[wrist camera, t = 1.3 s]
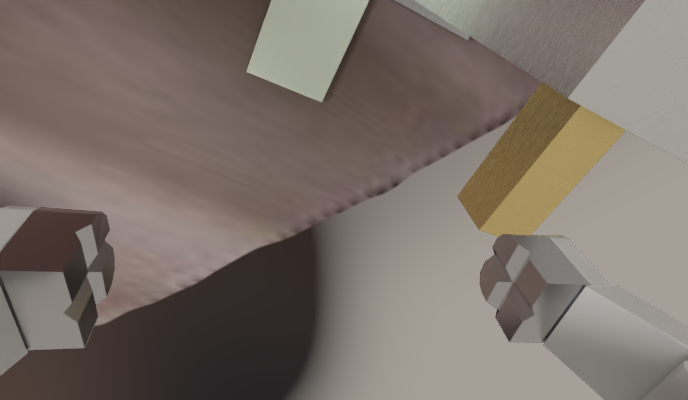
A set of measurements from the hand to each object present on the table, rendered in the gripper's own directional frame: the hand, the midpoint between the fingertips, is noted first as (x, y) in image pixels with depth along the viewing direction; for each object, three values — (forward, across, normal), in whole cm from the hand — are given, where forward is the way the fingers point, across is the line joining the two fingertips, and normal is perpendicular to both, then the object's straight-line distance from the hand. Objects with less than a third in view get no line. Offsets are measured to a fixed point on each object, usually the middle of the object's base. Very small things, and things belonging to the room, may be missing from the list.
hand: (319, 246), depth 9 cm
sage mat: (+39, +4, 0) cm, 39 cm away
